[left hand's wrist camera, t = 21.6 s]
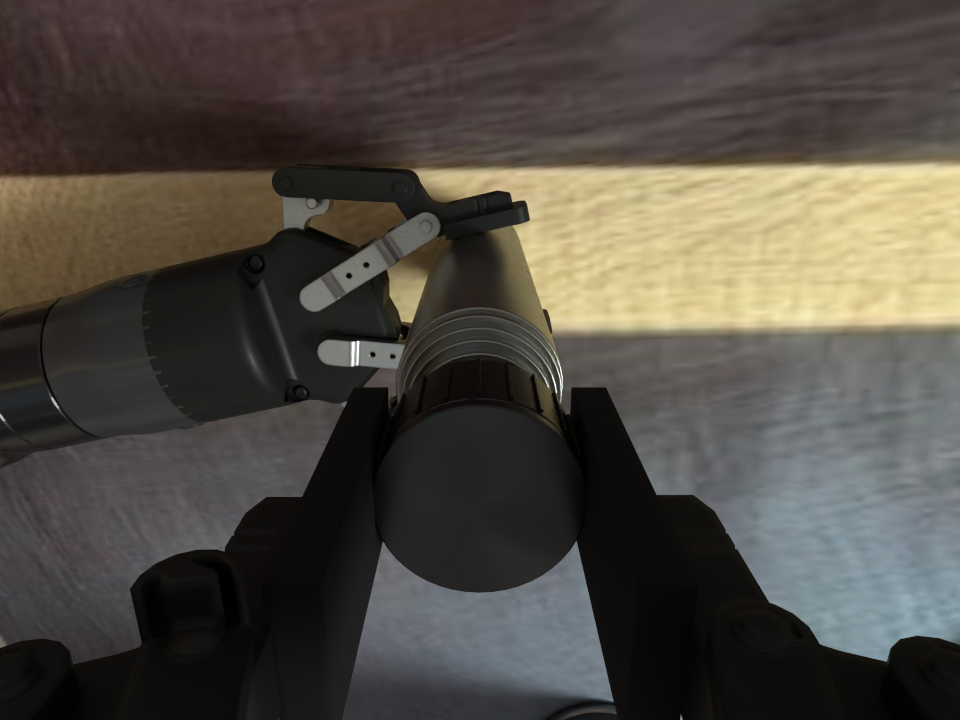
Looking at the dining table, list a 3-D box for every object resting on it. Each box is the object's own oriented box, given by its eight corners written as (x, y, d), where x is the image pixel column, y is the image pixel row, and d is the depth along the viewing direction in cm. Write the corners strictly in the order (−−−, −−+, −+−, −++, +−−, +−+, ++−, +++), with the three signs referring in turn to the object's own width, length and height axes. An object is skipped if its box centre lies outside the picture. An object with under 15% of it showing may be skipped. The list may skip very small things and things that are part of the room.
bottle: (515, 204, 35) (584, 365, 12) (525, 286, 37) (602, 567, 14) (432, 216, 36) (342, 395, 12) (445, 297, 37) (387, 592, 14)
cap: (555, 534, 16) (568, 606, 13) (377, 513, 15) (359, 582, 13) (590, 370, 14) (611, 419, 12) (394, 344, 14) (378, 388, 12)
